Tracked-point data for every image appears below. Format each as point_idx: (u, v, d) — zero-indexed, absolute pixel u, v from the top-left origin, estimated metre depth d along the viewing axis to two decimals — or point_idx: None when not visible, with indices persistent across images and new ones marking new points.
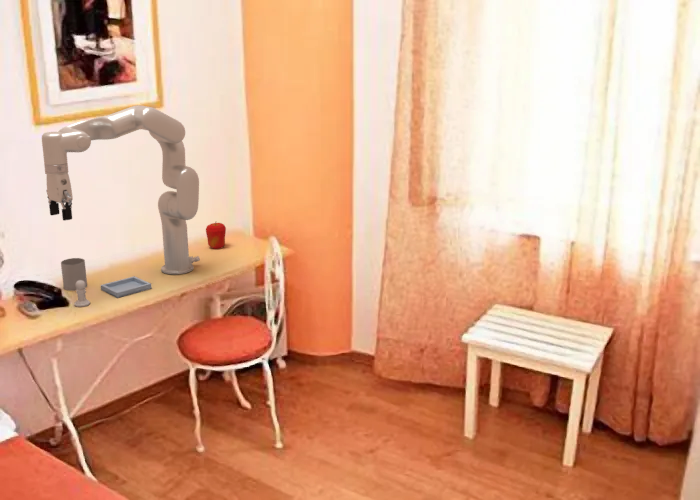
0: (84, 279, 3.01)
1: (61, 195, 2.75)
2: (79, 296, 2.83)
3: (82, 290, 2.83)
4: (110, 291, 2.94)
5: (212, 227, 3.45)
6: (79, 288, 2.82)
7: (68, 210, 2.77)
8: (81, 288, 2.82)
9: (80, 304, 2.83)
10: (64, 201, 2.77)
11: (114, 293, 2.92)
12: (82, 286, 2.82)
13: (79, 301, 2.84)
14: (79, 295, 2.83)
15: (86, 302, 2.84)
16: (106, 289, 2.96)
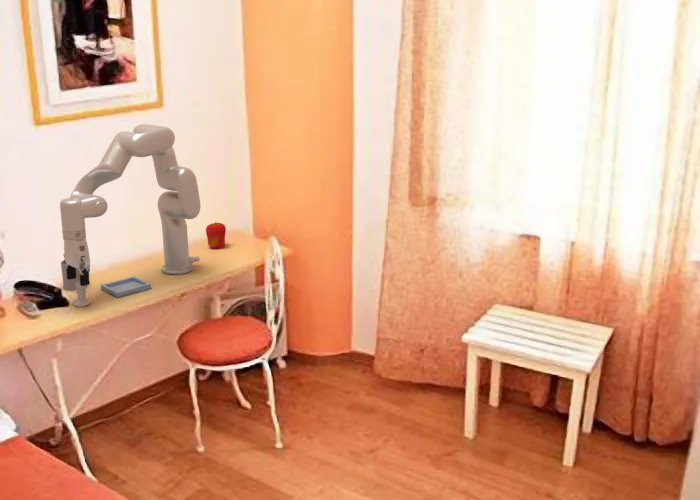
0: None
1: (79, 261, 2.76)
2: (79, 296, 2.83)
3: (82, 290, 2.83)
4: (110, 291, 2.94)
5: (212, 227, 3.45)
6: (79, 288, 2.82)
7: (86, 276, 2.78)
8: (81, 288, 2.82)
9: (80, 304, 2.83)
10: (82, 267, 2.77)
11: (114, 293, 2.92)
12: (82, 286, 2.82)
13: (79, 301, 2.84)
14: (79, 295, 2.83)
15: (86, 302, 2.84)
16: (106, 289, 2.96)
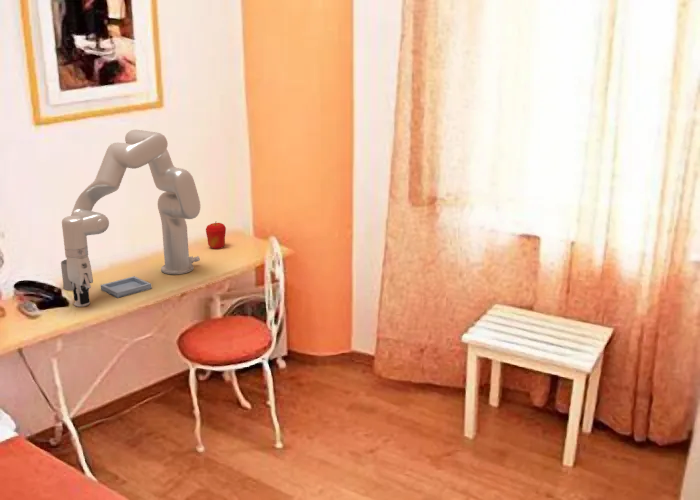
0: None
1: (82, 278, 2.78)
2: (79, 296, 2.83)
3: None
4: (110, 291, 2.94)
5: (212, 227, 3.45)
6: (79, 288, 2.82)
7: (85, 294, 2.82)
8: None
9: (80, 304, 2.83)
10: None
11: (114, 293, 2.92)
12: (82, 286, 2.82)
13: (79, 301, 2.84)
14: None
15: None
16: (106, 289, 2.96)
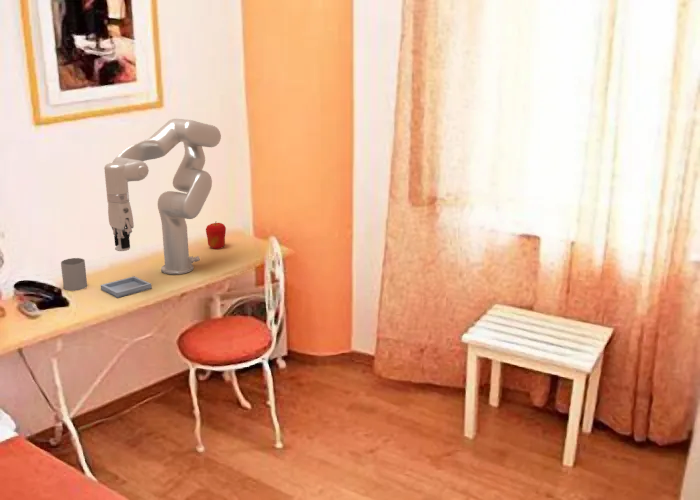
0: (84, 279, 3.01)
1: (123, 223, 2.88)
2: (120, 240, 2.93)
3: None
4: (110, 291, 2.94)
5: (212, 227, 3.45)
6: (120, 233, 2.92)
7: (126, 239, 2.92)
8: None
9: (121, 248, 2.93)
10: (124, 230, 2.91)
11: (114, 293, 2.92)
12: (123, 231, 2.92)
13: (120, 246, 2.94)
14: (120, 240, 2.93)
15: None
16: (106, 289, 2.96)
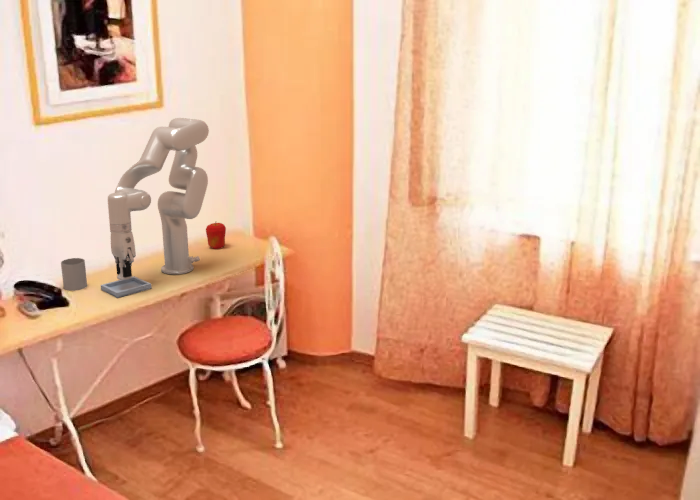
0: (84, 279, 3.01)
1: (126, 252, 2.91)
2: (122, 269, 2.96)
3: None
4: (110, 291, 2.94)
5: (212, 227, 3.45)
6: (122, 262, 2.95)
7: (128, 268, 2.95)
8: None
9: (123, 277, 2.96)
10: (126, 259, 2.94)
11: (114, 293, 2.92)
12: (125, 260, 2.95)
13: (122, 274, 2.97)
14: (122, 268, 2.96)
15: None
16: (106, 289, 2.96)
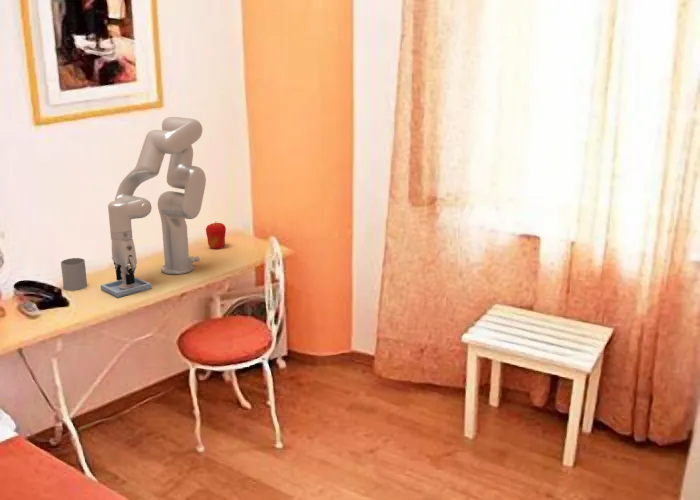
0: (84, 279, 3.01)
1: (127, 260, 2.92)
2: (124, 279, 2.98)
3: None
4: (110, 291, 2.94)
5: (212, 227, 3.45)
6: (124, 272, 2.97)
7: (131, 275, 2.96)
8: None
9: (125, 287, 2.98)
10: None
11: (114, 293, 2.92)
12: None
13: (124, 284, 2.98)
14: (124, 278, 2.98)
15: (130, 285, 2.99)
16: (106, 289, 2.96)
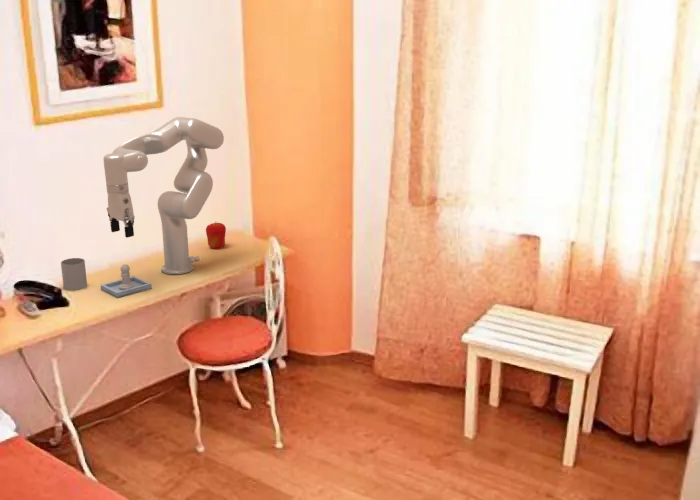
0: (84, 279, 3.01)
1: (124, 214, 2.88)
2: (124, 279, 2.98)
3: (127, 274, 2.97)
4: (110, 291, 2.94)
5: (212, 227, 3.45)
6: (124, 272, 2.97)
7: (130, 227, 2.91)
8: (126, 272, 2.97)
9: (125, 287, 2.98)
10: (126, 219, 2.90)
11: (114, 293, 2.92)
12: (127, 270, 2.97)
13: (124, 284, 2.98)
14: (124, 278, 2.98)
15: (130, 285, 2.99)
16: (106, 289, 2.96)
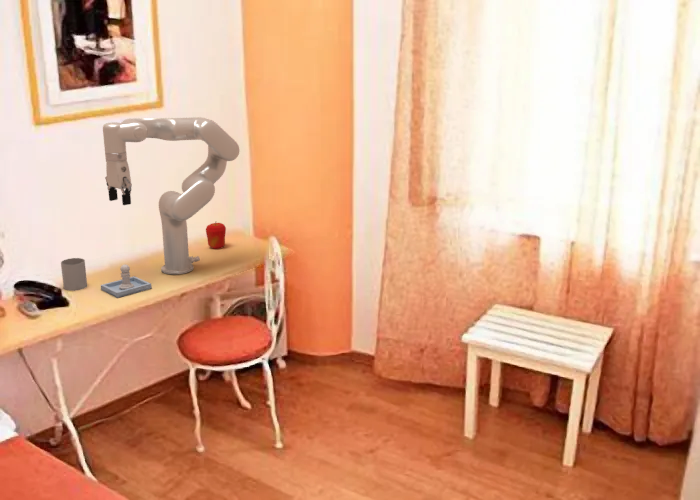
0: (84, 279, 3.01)
1: (121, 181, 2.95)
2: (124, 279, 2.98)
3: (127, 274, 2.97)
4: (110, 291, 2.94)
5: (212, 227, 3.45)
6: (124, 272, 2.97)
7: (127, 195, 2.97)
8: (126, 272, 2.97)
9: (125, 287, 2.98)
10: (124, 187, 2.97)
11: (114, 293, 2.92)
12: (127, 270, 2.97)
13: (124, 284, 2.98)
14: (124, 278, 2.98)
15: (130, 285, 2.99)
16: (106, 289, 2.96)
